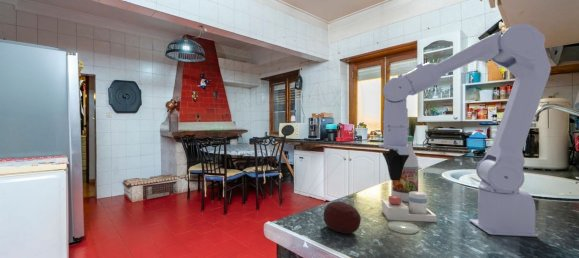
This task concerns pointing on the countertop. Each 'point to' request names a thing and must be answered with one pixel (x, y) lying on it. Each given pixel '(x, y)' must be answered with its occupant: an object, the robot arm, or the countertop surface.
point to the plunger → (394, 200)
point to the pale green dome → (403, 227)
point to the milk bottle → (407, 176)
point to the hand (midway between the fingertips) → (395, 179)
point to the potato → (341, 217)
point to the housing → (405, 213)
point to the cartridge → (417, 202)
